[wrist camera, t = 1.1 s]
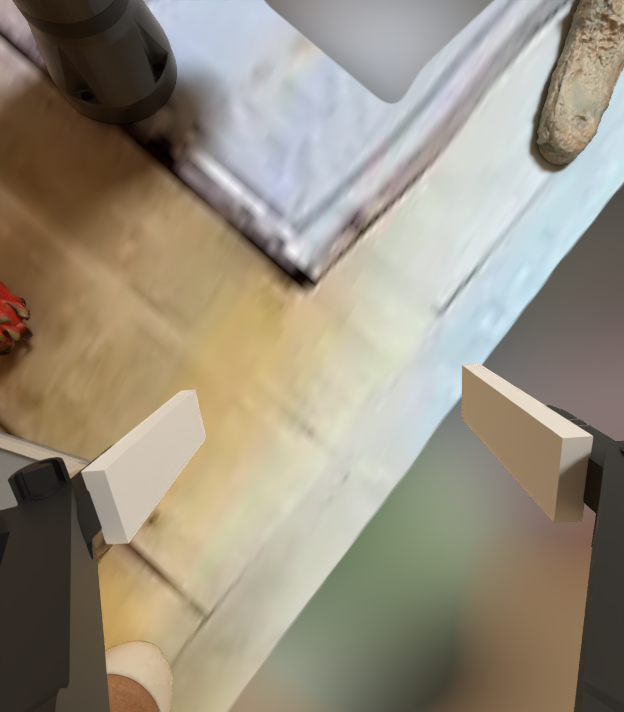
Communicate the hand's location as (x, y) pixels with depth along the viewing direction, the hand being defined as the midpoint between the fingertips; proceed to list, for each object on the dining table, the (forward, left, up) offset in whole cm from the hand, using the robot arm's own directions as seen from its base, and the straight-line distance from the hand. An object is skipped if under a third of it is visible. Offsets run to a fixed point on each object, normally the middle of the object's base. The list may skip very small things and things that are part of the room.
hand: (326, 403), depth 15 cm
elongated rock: (-23, +59, -24) cm, 68 cm away
